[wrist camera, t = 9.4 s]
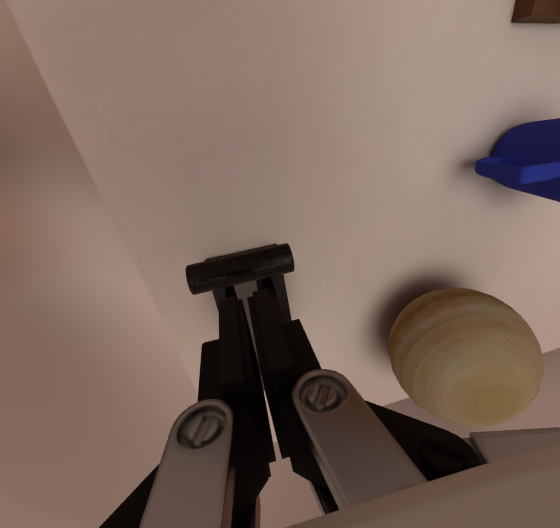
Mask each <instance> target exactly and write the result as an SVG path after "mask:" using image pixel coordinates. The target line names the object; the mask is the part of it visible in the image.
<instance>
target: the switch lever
mask: <svg viewBox="0 0 560 528" xmlns="http://www.w3.org/2000/svg"><path fill="white" fill-rule="evenodd" d="M293 271H294V260H293V256H292V252H291V249H290V246H289V245H288V243H285V244H280V245H276V246H271V247H267V248H263V249H258V250H254V251H249V252H245V253H240V254H236V255H231V256H227V257H222V258H218V259H214V260H209V261H205V262H200V263H196V264H191V265H188V266H186V278H187V283H188V286H189V289H190V291H191V293H192V294H194V295H196V294H200V293H204V292H208V291H213V290H217V289H221V288H225V287H230V286H234V288H235V292H236V295H237V298H238V299H242V300H243V304H244V308H245V312H246V316H247V320H248V324H249V328H250V332H251V336H252V340H253V344H254V348H255V352H256V356H257V360H258V355H257V350H256V344H255V339H254V334H253V328H252V323H251V317H250V312H249V306H248V301H247V297H251V296H253V293H252V292H254V291H258V290H257V285H256V280H259V279H264V278H268V277H272V276H276V275H281V274H285V273H289V272H293ZM258 364H259V361H258ZM259 369H260V366H259ZM260 374H261V371H260ZM261 380H262V376H261ZM262 385H263V381H262ZM264 390H265V389H264V385H263V391H264Z"/></svg>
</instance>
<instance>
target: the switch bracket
mask: <svg viewBox="0 0 560 528" xmlns="http://www.w3.org/2000/svg"><path fill="white" fill-rule="evenodd" d="M276 245H277V244H274V245H269V246H265V247H260V248H256V249H251V250H247V251H243V252H238V253H234V254H229V255H225V256H220V257H216V258H211V259H207V260H205V261H209V260H214V259H218V258H222V257H227V256H231V255H236V254H240V253H245V252H249V251H254V250H258V249H263V248H267V247H271V246H276ZM256 285H257V290H262V289H266V288H268V291H269V294H270V297H271V300H272V303H273V306H274V309H275V312H276V315H277V318H278V321H279V324H280V323H284V322H288V321H292V320H291V315H290V309H289V304H288V298H287V293H286V287H285V282H284V276H283V274H281V275H276V276H272V277H268V278H264V279H259V280H256ZM213 295H214V298H215V301H216V305H217V308H218V312H219V300H220V299H224V298H228V297H233V296H235V297H236V300H238V298H237V295H236V292H235V288H234V286H230V287H225V288H221V289H217V290H213Z"/></svg>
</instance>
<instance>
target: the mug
mask: <svg viewBox="0 0 560 528" xmlns="http://www.w3.org/2000/svg"><path fill="white" fill-rule="evenodd" d="M475 172H476V173H477V174H479V175H481V176H484V177H488V178H492V179H496V180H497V181H498V182H499V183H500V184H502V185H504V186H506V187H508V188H512V189H515V190H519V191H522V192H526V193H530V194H533V195H537V196H540V197H544V198H548V199H551V200H555V201H558V202H560V118H558V119H550V120H543V121H535V122H529V123H525V124H522V125H519V126H517V127H515V128H513V129H511V130H510V131H509V132H507V133H506V134H505V135H504V136H503V137H502V138H501V140H500V141H499V142H498V144H497V145H496V147H495V150H494V152H493V155H492V157H490V158H483V159H480V160H478V161H477V162H476V165H475Z"/></svg>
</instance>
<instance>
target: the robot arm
mask: <svg viewBox="0 0 560 528" xmlns="http://www.w3.org/2000/svg"><path fill="white" fill-rule="evenodd" d="M252 293H253V296H251V297H247V301H248V306H249V312H250V317H251V323H252V328H253V334H254V339H255V344H256V350H257V355H258V360H257V356H256V352H255V348H254V344H253V340H252V336H251V332H250V328H249V324H248V320H247V316H246V312H245V308H244V304H243V300H242V299H238V300H236V297H235V296H233V297H228V298H224V299H220V300H219V339H217V340H213V341H209V342H205V343H203V344H202V352H201V364H200V377H199V390H198V402H197V403H195V404H193V405H192V406H190V407H188V408H187V409H186V410H185V411H183V412H182V413H181V414H180V415H179V417H178V418H177V419H176V420H175V422H174V424H173V426H172V428H171V430H170V433H169V437H168V440H167V443H166V446H165V449H164V452H163V455H162V458H161V461H160V464H159V465H158V466H157V467H156V468H155V469H154V470H153V471H152V472H151V473H150V474H149V475H148V476H147V477H146V478H145V479H144V481H142V483H141V484H140V485H139V486H138V487H137V488H136V489H135V490H134V491H133V492H132V493H131V494H130V495H129V496H128V497H127V499H126V500H125V501H124V502H123V503H122V504H121V505H120V506H119V507H118V508H117V509H116V510H115V511H114V512H113V513H112V514H111V515H110V516H109V518H108V519H107V520H106V521H105V522H104V523H103V524H102V525H101V526H100V527H99V528H260V497H259V493H260V492H261V490H262V488H263V487H264V485H265V484H266V482H267V481H268V477H271V474H270V467H269V463H270V462H274V461H276V458H275V452H274V446H273V441H272V435H271V429H270V424H269V418H268V413H267V407H266V402H265V396H264V391H263V385H264V389H265V393H266V397H267V401H268V405H269V409H270V413H271V417H272V421H273V425H274V429H275V433H276V437H277V441H278V444H279V448H280V452H281V456H282V459H284V458H287V457H290V460H291V464H292V468H293V472H295V473H297V474H298V475H300V476H302V477H304V478H305V479H307V480H309V482H310V486H311V489H312V492H313V494H314V496H315V499H316V501H317V504H318V506H319V508H320V510H321V513H322V516H320V517H317V518H314V519H311V520H307V521H304V522H301V523H298V524H295V525H292V526H289V527H286V528H560V428H558V427H556V428H540V429H524V430H523V429H522V430H505V431H489V432H472V433H470V436H469V438H460V437H459V436H457V435H455V434H453V433H451V432H449V431H447V430H444V429H441V428H438V427H436V426H433V425H431V424H428V423H425V422H422V421H420V420H417V419H414V418H411V417H409V416H406V415H403V414H401V413H398V412H395V411H392V410H390V409H387V408H384V407H382V406H379V405H376V404H373V403H371V402H368V401H365V400H364V399H363V398H362V397H361V395H360V394H359V393H358V391H357V390H356V389H355V388H354V386H353V385H352V384H351V383H350V381H349V380H348V379H347V378H346V377H345V376H344V375H342V374H340V373H338V372H336V371H333V370H328V369H321V367H320V364H319V362H318V360H317V358H316V356H315V353H314V351H313V349H312V347H311V344H310V342H309V340H308V338H307V336H306V333H305V331H304V329H303V327H302V324H301V322H300V320H299V319H296V320H292V321H288V322H284V323H280V324H279V321H278V318H277V315H276V312H275V309H274V306H273V303H272V300H271V297H270V294H269V291H268V288H266V289H262V290H258V291H254V292H252ZM258 361H259V364H258ZM259 366H260V369H259ZM260 371H261V374H260ZM261 376H262V380H261ZM262 381H263V385H262Z"/></svg>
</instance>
